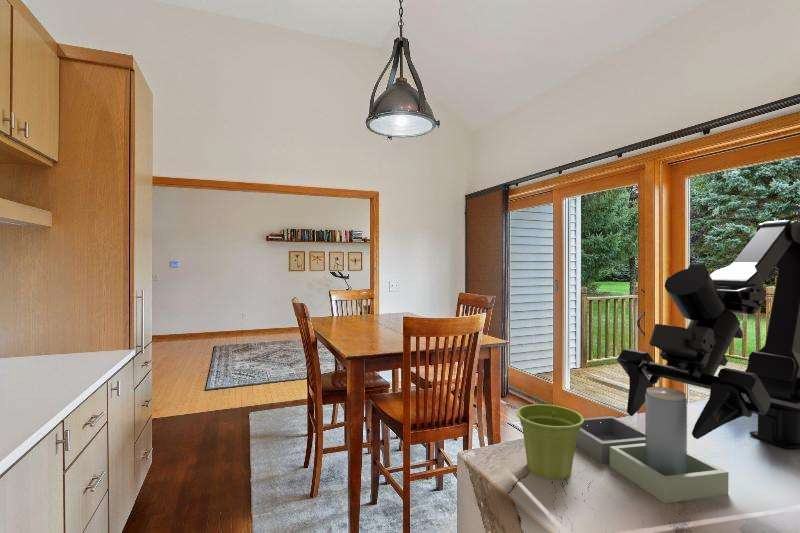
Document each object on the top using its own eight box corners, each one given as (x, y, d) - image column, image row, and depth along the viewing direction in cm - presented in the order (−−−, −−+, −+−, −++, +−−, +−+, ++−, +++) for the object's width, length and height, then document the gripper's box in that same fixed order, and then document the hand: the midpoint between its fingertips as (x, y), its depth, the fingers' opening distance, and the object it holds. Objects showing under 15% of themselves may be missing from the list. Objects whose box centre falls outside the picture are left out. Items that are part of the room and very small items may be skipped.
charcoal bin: (612, 435, 77) (612, 416, 77) (657, 460, 67) (657, 438, 67) (563, 439, 75) (563, 420, 75) (601, 466, 65) (601, 443, 65)
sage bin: (665, 463, 66) (665, 441, 66) (728, 498, 56) (728, 472, 56) (609, 469, 64) (609, 446, 64) (664, 507, 54) (664, 479, 54)
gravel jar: (657, 467, 64) (656, 384, 64) (693, 482, 59) (693, 393, 59) (638, 476, 61) (638, 389, 61) (675, 491, 57) (675, 399, 57)
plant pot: (590, 492, 58) (590, 428, 58) (518, 484, 59) (519, 423, 59) (575, 461, 67) (576, 406, 67) (514, 455, 69) (514, 402, 69)
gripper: (624, 299, 70) (576, 373, 65) (760, 311, 53) (709, 411, 49) (654, 343, 74) (610, 416, 69) (790, 367, 57) (745, 465, 52)
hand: (659, 424), depth 59 cm, fingers open, 9 cm apart
